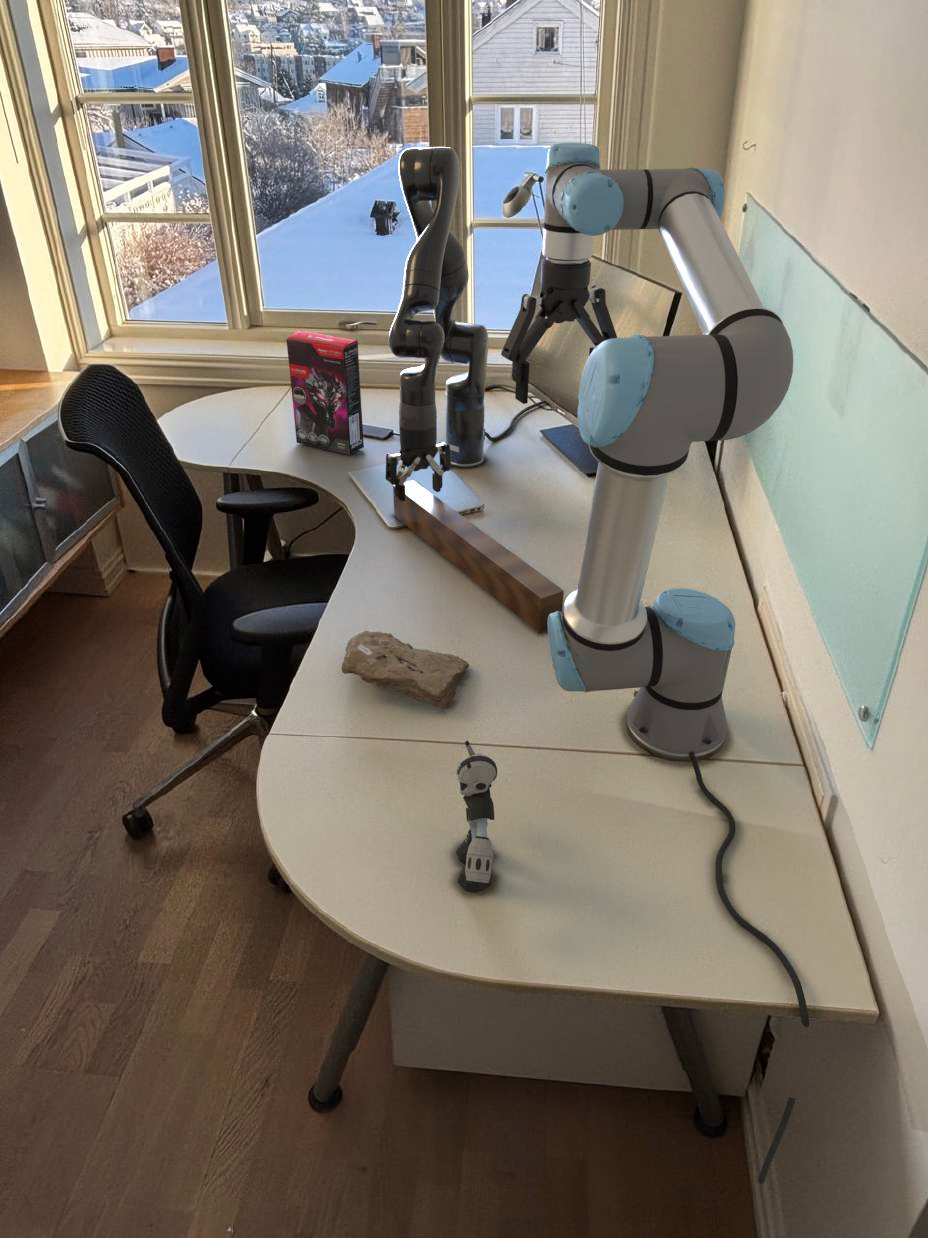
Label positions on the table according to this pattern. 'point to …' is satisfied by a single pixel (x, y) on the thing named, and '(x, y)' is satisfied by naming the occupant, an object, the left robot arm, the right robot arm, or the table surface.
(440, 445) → the left robot arm
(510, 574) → the beam
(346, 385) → the graphics card box
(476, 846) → the robot
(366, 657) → the stone
